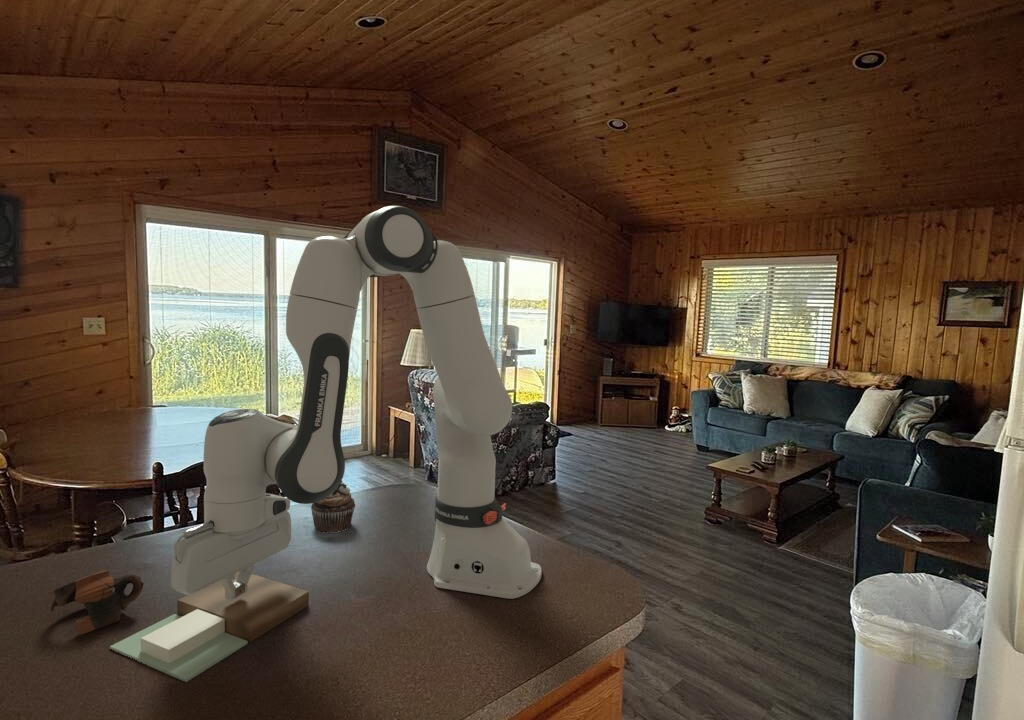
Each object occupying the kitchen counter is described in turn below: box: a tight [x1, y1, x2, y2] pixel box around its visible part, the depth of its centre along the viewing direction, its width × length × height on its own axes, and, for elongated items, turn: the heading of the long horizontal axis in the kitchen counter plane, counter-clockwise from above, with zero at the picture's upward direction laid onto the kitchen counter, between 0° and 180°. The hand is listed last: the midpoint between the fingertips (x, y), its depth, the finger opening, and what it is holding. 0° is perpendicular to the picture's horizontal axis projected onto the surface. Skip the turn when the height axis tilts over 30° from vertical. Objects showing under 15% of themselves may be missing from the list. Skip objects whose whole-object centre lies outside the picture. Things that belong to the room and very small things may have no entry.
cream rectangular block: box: [141, 609, 225, 663], centre depth 86 cm, size 9×6×2 cm, turn 156°
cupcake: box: [310, 481, 356, 534], centre depth 132 cm, size 10×10×10 cm
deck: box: [176, 571, 310, 643], centre depth 95 cm, size 16×12×2 cm
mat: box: [109, 613, 249, 683], centre depth 85 cm, size 16×10×1 cm, turn 66°
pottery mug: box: [49, 570, 144, 635], centre depth 92 cm, size 12×10×8 cm
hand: (236, 595), depth 93 cm, fingers closed
